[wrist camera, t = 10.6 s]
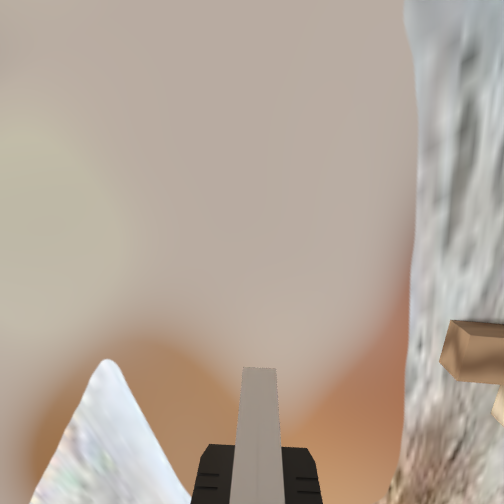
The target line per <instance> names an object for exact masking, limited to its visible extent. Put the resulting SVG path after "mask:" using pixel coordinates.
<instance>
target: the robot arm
mask: <svg viewBox="0 0 504 504" xmlns="http://www.w3.org/2000/svg"><path fill="white" fill-rule="evenodd" d="M277 393H278V392H277V379H276V369H274V368H273V369H271V368H250V367H243V375H242V385H241V394H240V404H239V414H238V424H237V434H236V444H235V445H218V444H209V446H208V447H207V448H206V450H205V451H204V453H203V455H202V456H201V458H200V463H199V468H198V472H197V477H196V481H195V486H194V490H193V495H192V500H191V504H323V502H322V497H321V491H320V486H319V482H318V475H317V469H316V464H315V461H314V459H313V458H312V456H311V454H310V453H309V451H308V449H307V448H294V447H293V448H292V447H281V437H280V423H279V409H278V408H279V407H278V394H277Z"/></svg>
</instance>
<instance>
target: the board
mask: <svg viewBox="0 0 504 504" xmlns="http://www.w3.org/2000/svg"><path fill="white" fill-rule="evenodd" d="M491 414H492V415H493V416H494V417H495V418H496V419H497V420H498V421H499V423H500V424H501V425H502V426H503V427H504V385H500V388H499V391H498V394H497V397H496V400H495V403H494V406H493V409H492V412H491Z"/></svg>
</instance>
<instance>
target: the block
mask: <svg viewBox="0 0 504 504" xmlns="http://www.w3.org/2000/svg"><path fill="white" fill-rule="evenodd" d="M439 362H440V364H441V365H442V366H443V367H444V368H445V369H446V370H447V371H448V372H449V373H450V374H451V375H452V376H453V377H454V378H455V379H456V380H457V381H464V382H476V383H487V384H499V385H504V324H492V323H480V322H468V321H456V320H450V324H449V327H448V331H447V335H446V338H445V342H444V345H443V349H442V353H441V356H440V360H439Z"/></svg>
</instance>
